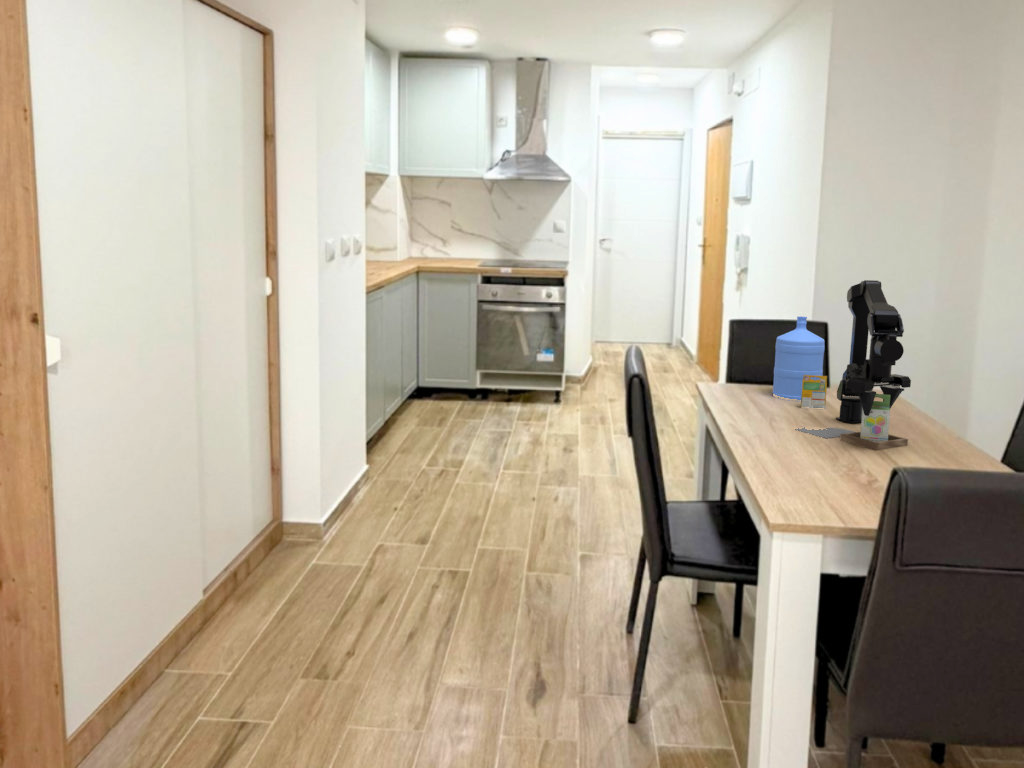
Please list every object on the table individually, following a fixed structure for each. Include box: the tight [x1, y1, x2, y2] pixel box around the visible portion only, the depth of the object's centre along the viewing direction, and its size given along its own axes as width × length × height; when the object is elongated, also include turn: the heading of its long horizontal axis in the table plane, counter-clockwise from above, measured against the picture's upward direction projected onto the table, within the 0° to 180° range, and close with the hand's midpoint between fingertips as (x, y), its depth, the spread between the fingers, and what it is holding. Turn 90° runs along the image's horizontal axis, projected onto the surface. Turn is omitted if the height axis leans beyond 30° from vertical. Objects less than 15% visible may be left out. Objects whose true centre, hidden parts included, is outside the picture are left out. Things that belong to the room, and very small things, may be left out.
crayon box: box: [800, 375, 828, 410], centre depth 300 cm, size 7×3×12 cm, turn 76°
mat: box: [794, 427, 856, 440], centre depth 269 cm, size 14×14×1 cm
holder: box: [839, 431, 909, 451], centre depth 256 cm, size 12×12×2 cm
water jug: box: [771, 316, 826, 400], centre depth 317 cm, size 16×16×28 cm
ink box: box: [860, 393, 891, 442], centre depth 255 cm, size 7×4×13 cm, turn 70°
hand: (875, 414), depth 255 cm, fingers closed on ink box, 7 cm apart
